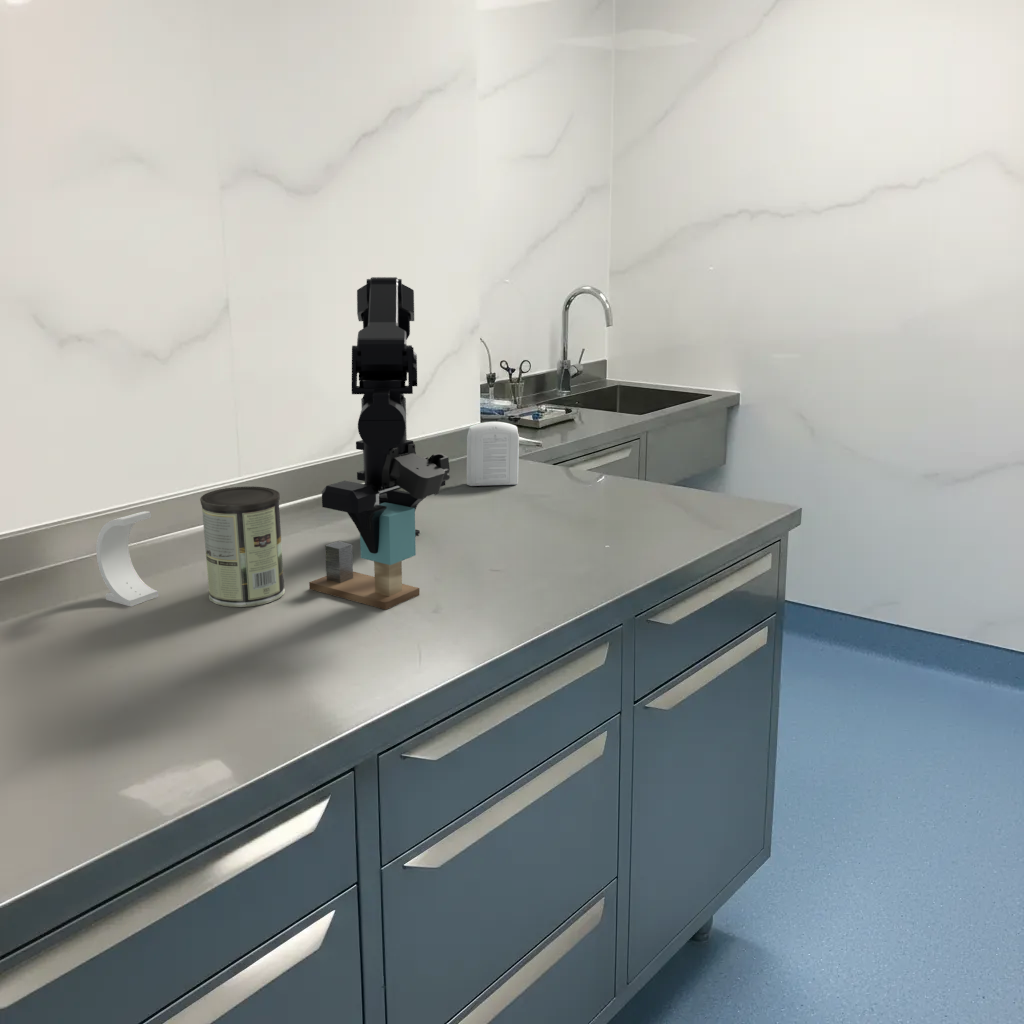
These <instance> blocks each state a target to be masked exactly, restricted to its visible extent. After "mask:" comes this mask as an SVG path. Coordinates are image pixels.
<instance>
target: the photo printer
mask: <svg viewBox="0 0 1024 1024" xmlns="http://www.w3.org/2000/svg"><path fill="white" fill-rule="evenodd" d="M518 429H519V428H518V426H517V425H515V424H512V423H509V422H503V421H485V422H479V423H476V424H473V425H471V426H469V427H468V432H467V435H466V485H467V486H469V487H477V486H479V487H483V486H484V487H485V486H514V485H515V486H516V485H518V484H519V458H520V457H519V456H520V455H519V452H520V451H519V449H520V437H519V436H520V435H519V431H518Z"/></svg>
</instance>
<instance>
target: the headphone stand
mask: <svg viewBox="0 0 1024 1024" xmlns="http://www.w3.org/2000/svg"><path fill="white" fill-rule="evenodd" d="M151 518H152V514H151V511H144V510H143V511H140V512H137V513H133V514H129V515H125V516H121V517H118V518H114V519H112V520H109V521H107V522H105V524H104V525H103V526H102V527H101V529H100V530H99V533H98V535H97V538H96V539H97V540H96V544H95V552H96V555H95V556H96V561H97V565H98V569H99V573H100V575H101V579H102V580H103V582H104V583H105V586H106V587H107V589H108V591H110V592H107V593H105V600H106V601H110V602H112V603H116V604H121V605H124V606H126V607H130V608H131V607H133V606H136V605H140V604H141V603H144V602H148V601H151V600H152V599H156V598H158V597H159V594H158V593H159V591H158V590H156V589H154V588H152V587H150V586H149V585H148V584H147V583H146V582H144V581H143V580H142V579H141V577H140V576H139V574H138V573H137V571H136V570H135V567H134V565H133V562H132V559H131V555H130V548H129V541H130V540H129V539H130V534H131V530H132V528H133V526H134V525H135V523H137V522H142V521H145V520H147V519H151Z"/></svg>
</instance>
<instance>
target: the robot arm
mask: <svg viewBox="0 0 1024 1024" xmlns="http://www.w3.org/2000/svg"><path fill="white" fill-rule="evenodd" d="M402 281H403V279H402V278H398V277H397V276H395V277H394V276H393V277H391V276H390V277H389V276H384V277H383V276H377V277H375V276H374V277H373V276H371V277H370V278H366V284H364V285H363V286H361V287H360V288H358V289H356V311H357V312H356V315H357V320H358V322H362V329H360V330H359V331H358V333H357V337H356V339H357V340H356V345H352V346H351V395H363V396H362V398H361V411H360V412H359V413H360V414H359V416H358V417H359V418H358V421H357V430H358V434H359V437H360V438H361V440H357V441H355V449H356V450H360V451H362V457H363V458H362V459H363V460H362V461H363V462H362V463H363V464H362V465H363V470H360V471H357V472H356V480H357V481H363V482H364V483H360V482H354V481H350V480H349V481H348V480H341V481H339V482H336V483H335V482H334V483H332V484H329V485H326V486H325V487H324V488H323V489H322V490H321V504H322V505H321V506H322V508H325V509H329V510H334V511H339V512H344V513H347V515H348V516H349V518H350V519H351V521H352V522H353V524H354V525H355V527H356V529H357V530H358V532H359V535H360V534H361V536H362V538H363V540H364V542H365V544H366V546H367V548H368V550H369V551H370V552H371V553H374V554H376V553H378V546H379V518H380V515H381V514H382V513H383V512H384V511H385V509H386V508H387V507H386V506H381V505H379V504H381V503H384V502H387V503H392V504H397V505H402V506H407V507H412V508H415V511H416V510H417V507H418V505H419V504H420V503H421V502H423V500H424V499H425V498H427V497H429V496H431V495H432V496H433V495H434V496H436V495H438V494H439V493H440V491H441V487H443V486H444V487H445V486H446V481H449V480H450V474H449V473H450V460H449V456H448V455H446V454H444V453H443V452H438V453H437V452H436V453H434V454H432V455H431V456H430V457H428V456H427V455H424V456H420V455H418V454H417V452H416V445H415V443H414V440H412V439H411V440H410V439H407V437H408V436H407V399H406V397H405V395H413V394H414V392H413V391H414V390H413V389H414V388H413V387H418V355H417V353H416V352H415V350H414V347H413V345H411V344H410V345H409V344H408V345H407V340H408V339H409V337H410V335H411V322H415V291H414V289H413V288H411V287H409V286H407V285H405V284H404V283H403V282H402ZM358 381H359V382H358ZM407 381H408V385H406V382H407ZM420 532H421V531H420V530H418V529H416V528H415V536H417V535H420V534H421V533H420Z"/></svg>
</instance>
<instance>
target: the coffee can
mask: <svg viewBox="0 0 1024 1024" xmlns="http://www.w3.org/2000/svg"><path fill="white" fill-rule="evenodd" d="M280 495H281V494H280V492H279V491H277V490H276V489H274V488H270V487H265V486H264V487H263V486H233V487H226V488H225V487H224V488H220V489H216V490H212V491H208V492H207V493H204V494H202V495H201V497H199V500H200V505H201V512H202V524H203V535H204V547H205V548H204V549H205V557H206V559H205V561H206V571H207V572H206V573H207V583H208V600H209V601H210V602H211V603H214V604H216V605H219V606H223V607H228V608H229V607H231V608H244V607H245V608H246V607H247V608H248V607H257V606H261V605H265V604H269V603H272V602H275V601H277V600H278V599H281V598H282V597H283V596H284V594H285V592H286V590H285V584H284V583H285V579H284V564H283V549H282V548H283V547H282V531H281V530H282V529H281V517H280V499H281V498H280Z"/></svg>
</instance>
